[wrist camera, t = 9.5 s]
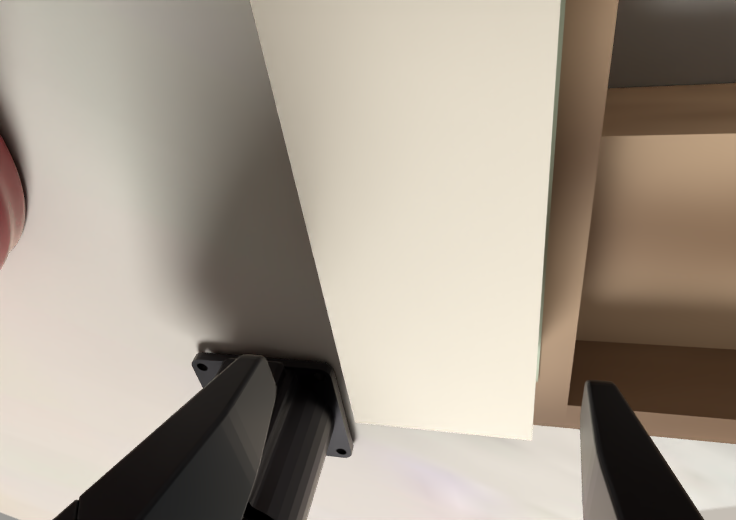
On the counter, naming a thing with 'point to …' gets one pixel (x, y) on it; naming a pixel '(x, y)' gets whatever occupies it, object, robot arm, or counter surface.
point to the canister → (10, 204)
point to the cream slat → (423, 195)
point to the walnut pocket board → (638, 243)
